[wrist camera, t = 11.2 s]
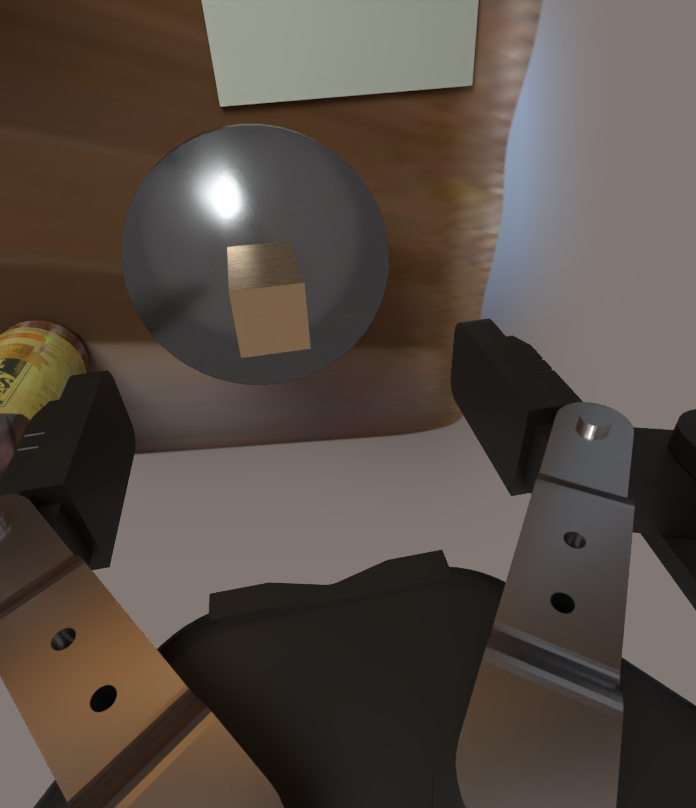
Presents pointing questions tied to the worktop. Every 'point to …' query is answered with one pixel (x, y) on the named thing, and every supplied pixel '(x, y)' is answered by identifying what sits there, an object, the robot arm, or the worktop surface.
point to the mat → (338, 47)
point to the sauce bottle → (33, 376)
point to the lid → (255, 254)
